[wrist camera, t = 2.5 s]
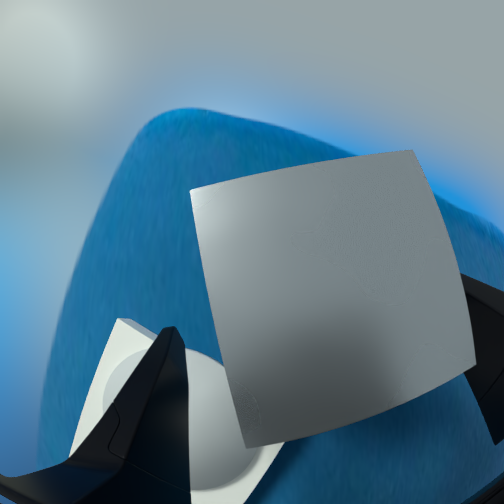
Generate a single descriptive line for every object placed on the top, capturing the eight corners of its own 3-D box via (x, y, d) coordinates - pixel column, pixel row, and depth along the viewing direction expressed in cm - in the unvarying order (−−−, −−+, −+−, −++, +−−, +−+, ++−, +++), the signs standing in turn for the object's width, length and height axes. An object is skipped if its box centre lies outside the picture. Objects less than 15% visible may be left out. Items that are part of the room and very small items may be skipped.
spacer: (336, 339, 16) (481, 368, 4) (259, 359, 16) (239, 457, 4) (317, 265, 18) (414, 143, 5) (242, 283, 18) (181, 185, 5)
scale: (304, 392, 16) (309, 402, 13) (206, 540, 13) (201, 556, 10) (135, 308, 17) (118, 306, 15) (76, 467, 14) (61, 476, 12)
